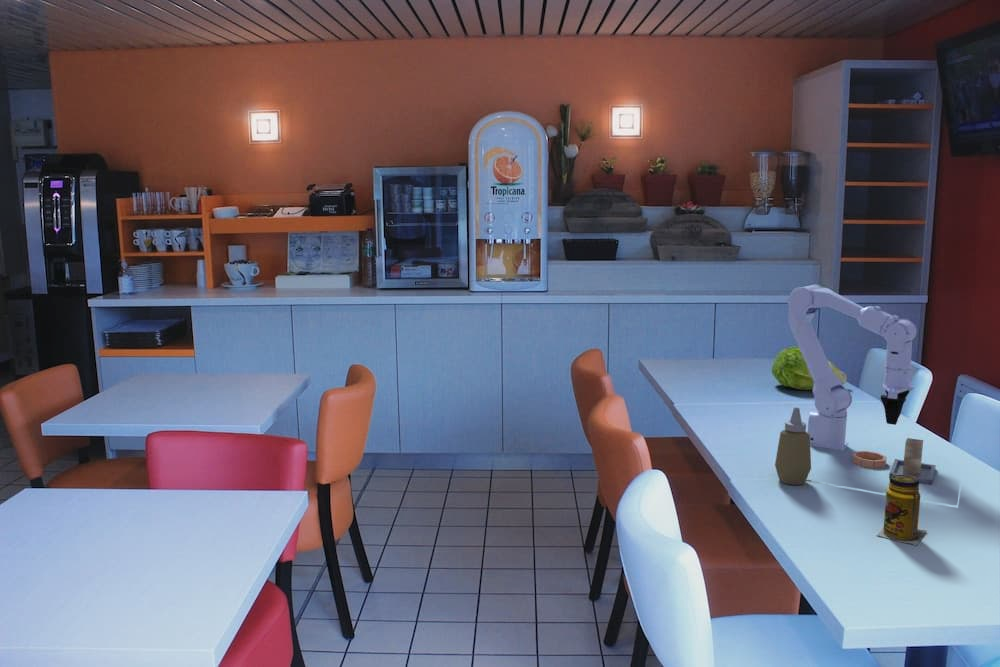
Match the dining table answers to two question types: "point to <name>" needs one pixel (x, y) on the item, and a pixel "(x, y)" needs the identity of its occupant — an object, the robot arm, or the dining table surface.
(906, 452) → the beech peg
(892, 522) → the condiment
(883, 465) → the terracotta octagonal bowl
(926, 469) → the slate tray
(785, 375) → the lettuce
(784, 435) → the squeeze bottle
